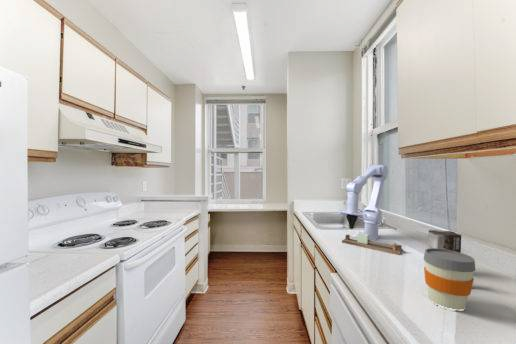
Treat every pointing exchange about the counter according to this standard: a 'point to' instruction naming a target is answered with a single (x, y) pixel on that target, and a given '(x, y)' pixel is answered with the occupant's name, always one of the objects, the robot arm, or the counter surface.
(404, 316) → the counter surface
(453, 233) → the coffee box
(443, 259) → the reusable coffee cup
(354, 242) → the rod board
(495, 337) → the counter surface
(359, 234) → the sleeve
